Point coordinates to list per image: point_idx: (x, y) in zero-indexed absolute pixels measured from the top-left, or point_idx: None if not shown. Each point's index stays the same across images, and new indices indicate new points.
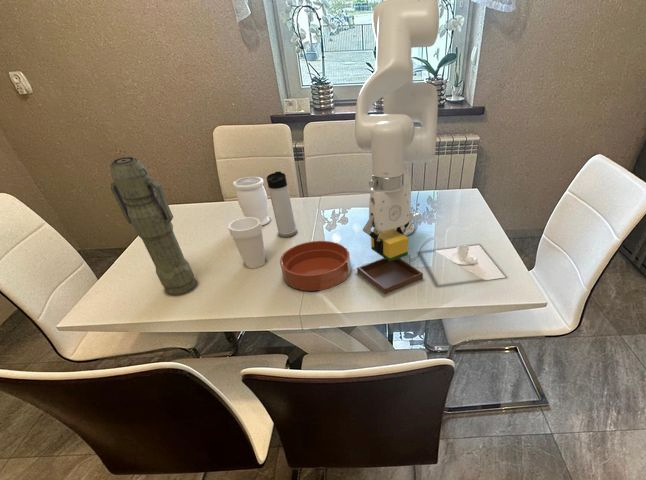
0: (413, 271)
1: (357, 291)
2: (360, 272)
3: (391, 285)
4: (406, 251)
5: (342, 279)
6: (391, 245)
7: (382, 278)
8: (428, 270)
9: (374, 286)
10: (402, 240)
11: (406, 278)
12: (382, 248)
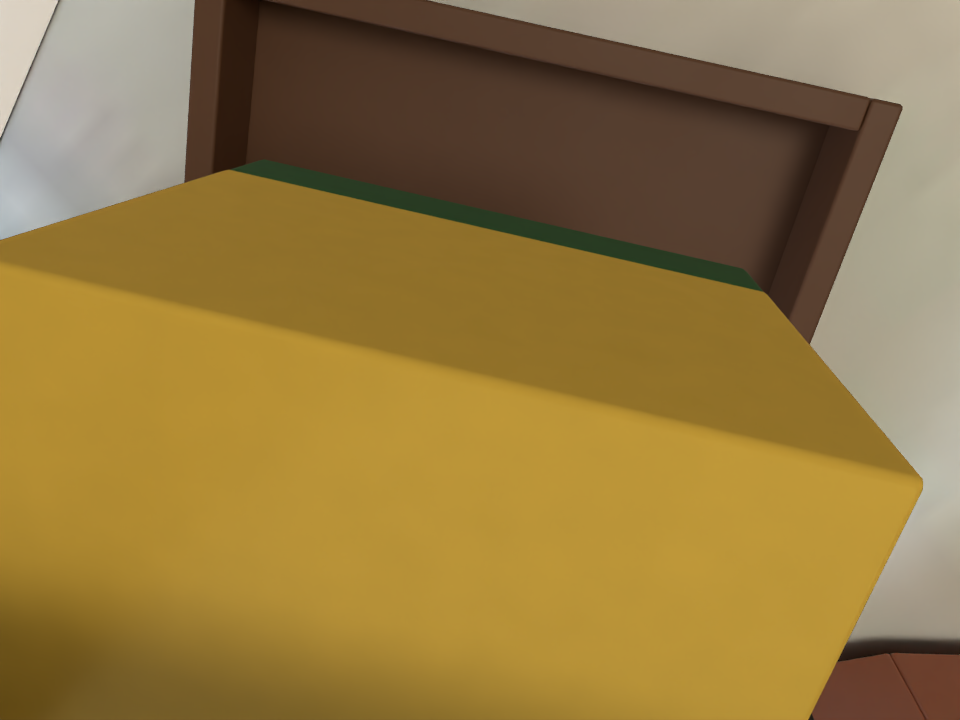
0: (230, 147)
1: (950, 429)
2: None
3: (760, 96)
4: (262, 179)
5: (924, 674)
6: (815, 422)
7: None
8: (31, 72)
9: None
10: (257, 315)
11: (382, 144)
12: None
